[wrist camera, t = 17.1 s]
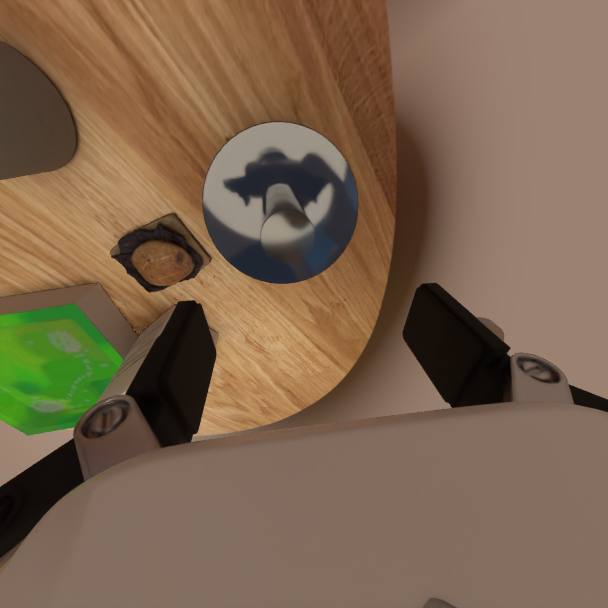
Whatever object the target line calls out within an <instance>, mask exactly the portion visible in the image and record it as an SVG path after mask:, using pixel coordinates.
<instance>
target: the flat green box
mask: <svg viewBox="0 0 608 608" xmlns="http://www.w3.org/2000/svg"><path fill="white" fill-rule="evenodd" d="M137 339H138V335H137V334H136V333H135V331H134V330H133V329H132V327H131V326H130V324H129V323H128V322H127V320H126V319H125V318H124V316H123V315H122V314H121V312H120V311H119V310H118V308H117V307H116V306H115V304H114V303H113V302H112V300H111V299H110V297H109V296H108V295H107V293H106V292H105V291H104V289H103V288H102V287H101V285H100V284H99V283H93V284H87V285H80V286H73V287H67V288H60V289H54V290H47V291H40V292H34V293H27V294H21V295H14V296H7V297H1V298H0V420H2V421H3V422H5V423H7V424H9V425H11V426H12V427H14V428H16V429H18V430H19V431H21V432H23V433H25V434H26V435H33V434H39V433H44V432H50V431H56V430H62V429H67V428H73V427H75V426H76V424H77V422H78V421H79V419H80V418H81V417H82V415H83V414H84V413H85V412H86V411H87V410H89V409H90V408H91V407H92V406H94V405H95V404H96V403H97V401H98V400H99V398H100V396H101V395H102V393H103V392H104V390H105V389H106V387H107V386H108V384H109V382H110V381H111V379H112V378H113V376H114V375H115V373H116V371H117V370H118V368H119V367H120V365H121V364H122V362H123V361H124V359H125V358H126V356H127V354H128V353H129V351H130V350H131V348H132V346H133V345H134V343H135V342H136V340H137Z"/></svg>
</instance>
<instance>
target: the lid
mask: <svg viewBox="0 0 608 608" xmlns="http://www.w3.org/2000/svg"><path fill="white" fill-rule="evenodd" d="M202 204H203V214H204V220H205V224H206V227H207V230H208V233H209V235H210V237H211V239H212V241H213V243H214V244H215V246H216V248H217V249H218V251H219V252H220V253H221V254H222V256H223V257H224V258H225V259H226V260H227V261H228V262H229V263H230V264H231V265H232V266H234V267H235V268H236V269H238V270H239V271H241V272H242V273H244V274H246V275H248V276H250V277H252V278H254V279H257V280H260V281H264V282H269V283H277V284H288V283H296V282H300V281H304V280H307V279H309V278H312V277H314V276H316V275H318V274H320V273H321V272H323V271H324V270H326V269H327V268H328V267H330V266H331V265H332V264H333V263H334V262H335V261H336V260H337V259H338V258H339V257H340V256H341V254H342V253H343V252H344V250H345V249H346V247H347V245H348V244H349V242H350V240H351V237H352V235H353V232H354V229H355V226H356V222H357V216H358V192H357V187H356V182H355V179H354V176H353V173H352V171H351V169H350V167H349V164H348V162H347V161H346V159H345V158H344V156H343V155H342V153H341V152H340V151H339V150H338V149H337V147H336V146H335V145H334V144H333V143H332V142H331V141H329V140H328V139H327V138H326V137H325V136H323V135H322V134H320V133H318V132H317V131H315V130H313V129H311V128H309V127H306V126H304V125H301V124H296V123H292V122H283V121H274V122H265V123H261V124H257V125H254V126H251V127H249V128H247V129H245V130H242V131H241V132H239V133H238V134H236V135H235V136H233V137H232V138H231V139H230V140H229V141H228V142H227V143H226V144H225V145H223V147H222V148H221V149H220V150H219V152H218V153H217V154H216V156H215V158H214V159H213V161H212V163H211V165H210V167H209V169H208V172H207V175H206V178H205V182H204V187H203V197H202Z"/></svg>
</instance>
